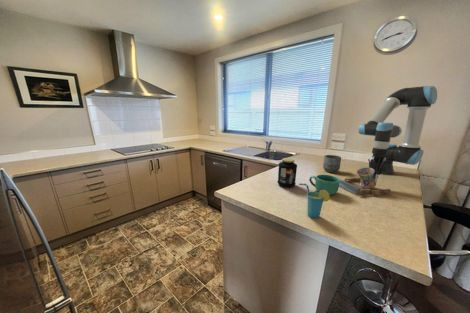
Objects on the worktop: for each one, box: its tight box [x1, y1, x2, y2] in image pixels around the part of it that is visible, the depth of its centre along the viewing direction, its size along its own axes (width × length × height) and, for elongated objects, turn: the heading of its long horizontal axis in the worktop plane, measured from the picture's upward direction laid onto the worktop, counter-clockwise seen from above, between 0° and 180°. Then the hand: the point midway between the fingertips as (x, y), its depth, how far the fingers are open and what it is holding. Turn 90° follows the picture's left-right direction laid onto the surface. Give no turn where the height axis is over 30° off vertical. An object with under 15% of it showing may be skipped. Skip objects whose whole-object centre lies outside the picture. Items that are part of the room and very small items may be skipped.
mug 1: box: [309, 174, 340, 196], centre depth 111 cm, size 17×13×10 cm
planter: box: [322, 154, 342, 174], centre depth 149 cm, size 12×12×13 cm
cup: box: [298, 183, 331, 220], centre depth 84 cm, size 14×8×15 cm, turn 54°
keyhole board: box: [338, 176, 392, 199], centre depth 116 cm, size 21×21×4 cm
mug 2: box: [356, 167, 377, 188], centre depth 116 cm, size 12×9×11 cm
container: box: [277, 157, 298, 188], centre depth 120 cm, size 12×12×18 cm
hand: (373, 183), depth 118 cm, fingers closed
